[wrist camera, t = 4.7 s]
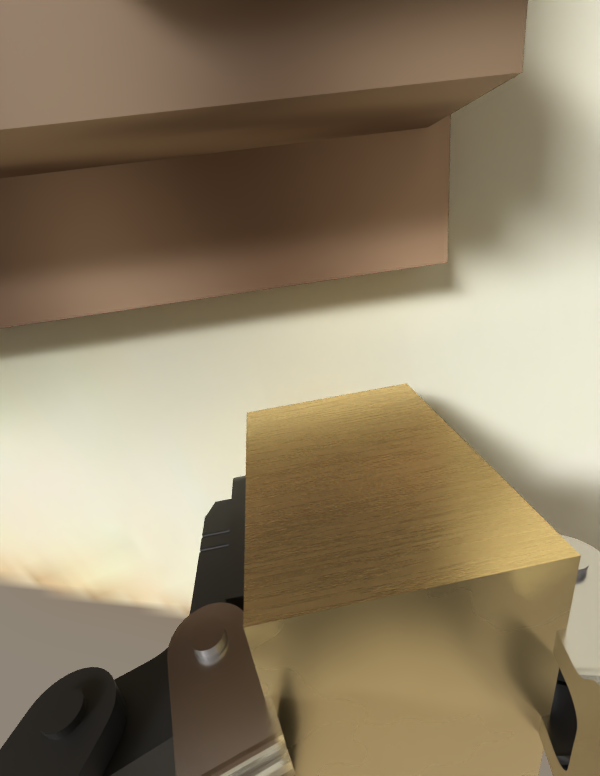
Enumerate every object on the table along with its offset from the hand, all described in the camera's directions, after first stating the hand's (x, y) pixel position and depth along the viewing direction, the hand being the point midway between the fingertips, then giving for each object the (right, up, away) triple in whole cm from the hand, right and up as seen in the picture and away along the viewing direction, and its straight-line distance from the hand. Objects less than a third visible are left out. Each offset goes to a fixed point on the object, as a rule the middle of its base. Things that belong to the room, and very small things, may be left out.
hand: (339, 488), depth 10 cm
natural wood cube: (0, 0, 0) cm, 0 cm away
